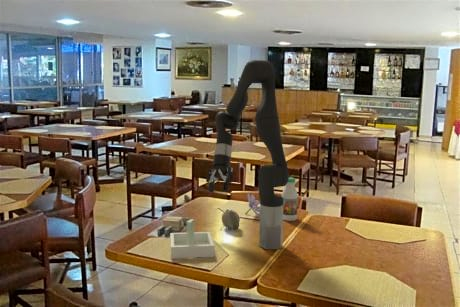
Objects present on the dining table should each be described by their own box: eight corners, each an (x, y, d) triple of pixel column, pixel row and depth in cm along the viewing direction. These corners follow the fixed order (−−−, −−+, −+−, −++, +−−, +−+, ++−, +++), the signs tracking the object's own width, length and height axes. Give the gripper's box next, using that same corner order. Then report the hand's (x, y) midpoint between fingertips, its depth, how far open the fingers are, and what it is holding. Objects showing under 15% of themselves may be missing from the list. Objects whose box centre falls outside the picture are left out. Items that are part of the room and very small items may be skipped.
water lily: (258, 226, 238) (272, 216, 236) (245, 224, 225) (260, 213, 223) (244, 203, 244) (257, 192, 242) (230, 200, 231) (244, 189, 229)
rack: (166, 223, 218) (166, 215, 217) (191, 226, 215) (191, 218, 214) (146, 237, 199) (146, 228, 198) (173, 240, 196) (173, 231, 195)
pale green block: (190, 246, 187) (190, 219, 185) (194, 246, 187) (194, 219, 185) (186, 249, 183) (186, 222, 182) (190, 249, 183) (190, 222, 181)
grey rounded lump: (237, 236, 210) (241, 218, 205) (218, 232, 210) (222, 214, 205) (239, 223, 218) (242, 206, 213) (220, 220, 218) (224, 202, 213)
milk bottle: (277, 217, 230) (279, 177, 227) (291, 215, 234) (292, 175, 230) (286, 222, 223) (287, 180, 220) (300, 220, 227) (301, 179, 223)
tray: (214, 257, 179) (214, 245, 178) (171, 258, 177) (171, 247, 176) (209, 242, 194) (209, 231, 194) (170, 243, 192) (170, 233, 191)
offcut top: (166, 220, 213) (166, 216, 212) (182, 222, 211) (182, 217, 211) (162, 224, 207) (162, 220, 207) (178, 225, 206) (178, 221, 205)
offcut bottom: (167, 224, 213) (167, 220, 213) (183, 226, 211) (183, 222, 211) (161, 228, 208) (161, 224, 207) (178, 230, 206) (178, 226, 205)
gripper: (205, 155, 211) (200, 190, 207) (228, 151, 201) (223, 189, 197) (217, 159, 216) (212, 194, 212) (240, 156, 206) (235, 193, 202)
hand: (217, 191), depth 205 cm, fingers open, 8 cm apart
